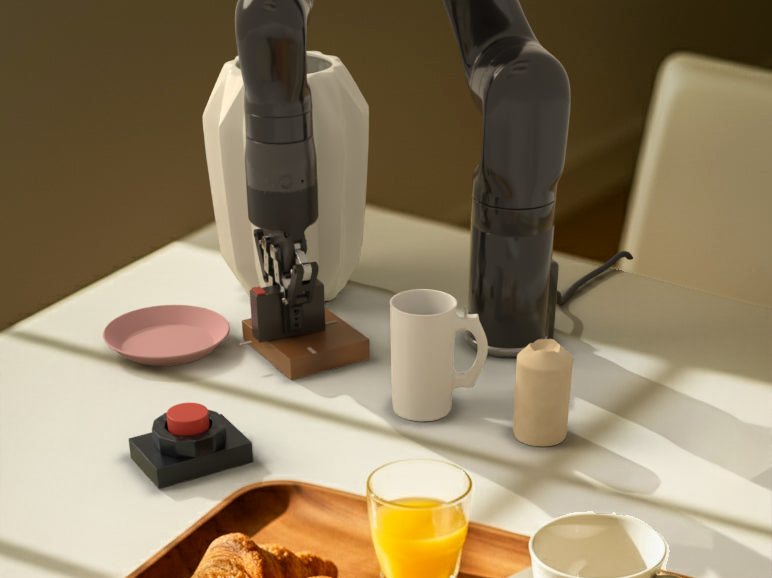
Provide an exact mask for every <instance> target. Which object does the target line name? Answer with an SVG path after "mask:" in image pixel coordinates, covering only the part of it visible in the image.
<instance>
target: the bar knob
mask: <svg viewBox="0 0 772 578" xmlns="http://www.w3.org/2000/svg"><path fill="white" fill-rule="evenodd" d="M288 290H289V286H288ZM325 302H326V301H324V284H323V283H322V282H320V281H319V280H318V279H317V280H316V284H315V289H314V293H313V298H312V302H311V303H306V304H303V321H304V331H303V333H302V334H307V333H313V332H318V331H323V330H325V308H326V303H325ZM249 304H250V318H251V320H252V335H253V337H254V338H255V339H256V340H257V341H258V342H259V343H262V342H267V341H272V340H277V339H282V338H287V337H292V336H287V335H286V334H285V333H284V332H283V316H282V302H281V290H280V285H274V286H268V287H263V288H261V287H260V286H259V287H253V288H251V290H250V297H249ZM302 334H299V335H302ZM294 336H297V335H294Z"/></svg>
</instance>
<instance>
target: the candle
mask: <svg viewBox="0 0 772 578" xmlns="http://www.w3.org/2000/svg"><path fill="white" fill-rule="evenodd" d="M573 361H574V358H573V356H572V355H571V353H569V351H567V349H565V348H564V347H563V346H562V345H561V344H560V343H559V342H557V340H555V339H554V340H553V339H539V340H537V341H536V342H534V343H530V344H529V345H528V346H527V347H525V348H524V349H523V350H522V351H521V352H519V353H518V355H517V357H516V365H515V366H516V367H515V368H516V369H515V382H514V383H515V384H514V399H513V401H514V403H513V419H512V421H513V423H512V432H513V433H512V434H513V436H514V438H515V439H516V440H517V441H518V442H521V443H523V444H524V445H528V446H533V447H550V446H555V445H558V444H560V443H562V442H564V441H565V439H566V437H567V434H568V423H569V412H570V411H569V410H570V402H571V401H570V400H571V389H572V388H571V387H572V377H573Z"/></svg>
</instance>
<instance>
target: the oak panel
mask: <svg viewBox="0 0 772 578" xmlns="http://www.w3.org/2000/svg"><path fill="white" fill-rule="evenodd" d="M241 328H242V340H243V341H244V342H240V343H239V346H241V347H243V346H247V345H248V346H250V347H251V348H252V349H253V350H255V351H256V352H257V353H258V354H259V355H260V356H262V357H263V358H264V359H266V360H267V361H268V363H270V364H272V365H273V366H274V368H276V369H277V370H279V371H280V372H281V373H283V375H285V376H286V377H287V378H288V379H289V380H290V381H293V380H296V379H300V378H304V377H308V376H312V375H315V374H319V373H323V372H327V371H331V370H335V369H338V368H342V367H346V366H350V365H353V364H358V363H362V362H366V361H369V360H370V359H371V352H370V351H371V350H370V349H371V348H370V347H371V346H370V344H371V343H370V342H371V341H370V338H369V337H367V336H366V335H364V334H363V333H361V331H358V329H356V328H355V327H354V326H352V325H350V324H349V323H348V322H346V321H345V320H343V319H342V318H340V317H339V316H338V315H336V314H335V313H334V312H332V311H331V310H329V308H327V307H325V330H323V331H318V332H313V333H307V334H302V335H297V336H292V337H287V338H282V339H277V340H272V341H267V342H262V343H259V342H258V341H257V340H256V339H255V338H254V337H253V335H252V320H251V317H250V318H246V319H241Z"/></svg>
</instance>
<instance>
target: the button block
mask: <svg viewBox="0 0 772 578" xmlns="http://www.w3.org/2000/svg"><path fill="white" fill-rule="evenodd" d="M208 413H209V424H210V427H209V429H208V430H207V431H206V432H203V433H200V434H196V435H190V436H179V435H175V434H172V433H170V432H169V430H168V424H167V415H166V414H167V411H166V412H164V413H162V414H161V415H160V416H158V417H156V418H155V419H153V422H152V426H151V432H148V433H143V434H140V435H136V436H134V437H129V438H128V447H129V455H130V459H131V460H132V461H133V462H134V463H135V464H136V465H137V467H138V468H140V470H141V471H142V472H143V473H144V474H145V476H147V478H148V479H149V480H150V481H151V482H152V483H153V484H154V486H155V487H156V488H157V489H158V490H160V489H163V488H167V487H168V488H169V487H170V486H174V485H177V484H181V483H185V482H188V481H192V480H195V479H198V478H203V477H206V476H209V475H213V474H216V473H219V472H223V471H226V470H229V469H230V470H231V469H234V468H237V467H241V466H243V465H247V464H251V463H253V462H254V452H253V441H252V440H250V439H249V438H248V437H247V435H245V434H243V432H241V430H239V429H238V428H237V427H236V426H235V425H234V424H233V423H232V422H231V421H230V420H229V419H228V418H227V417H226V416H225V415H224V414H222V413H219V412H218V411H216V410H211V409H208Z"/></svg>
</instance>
